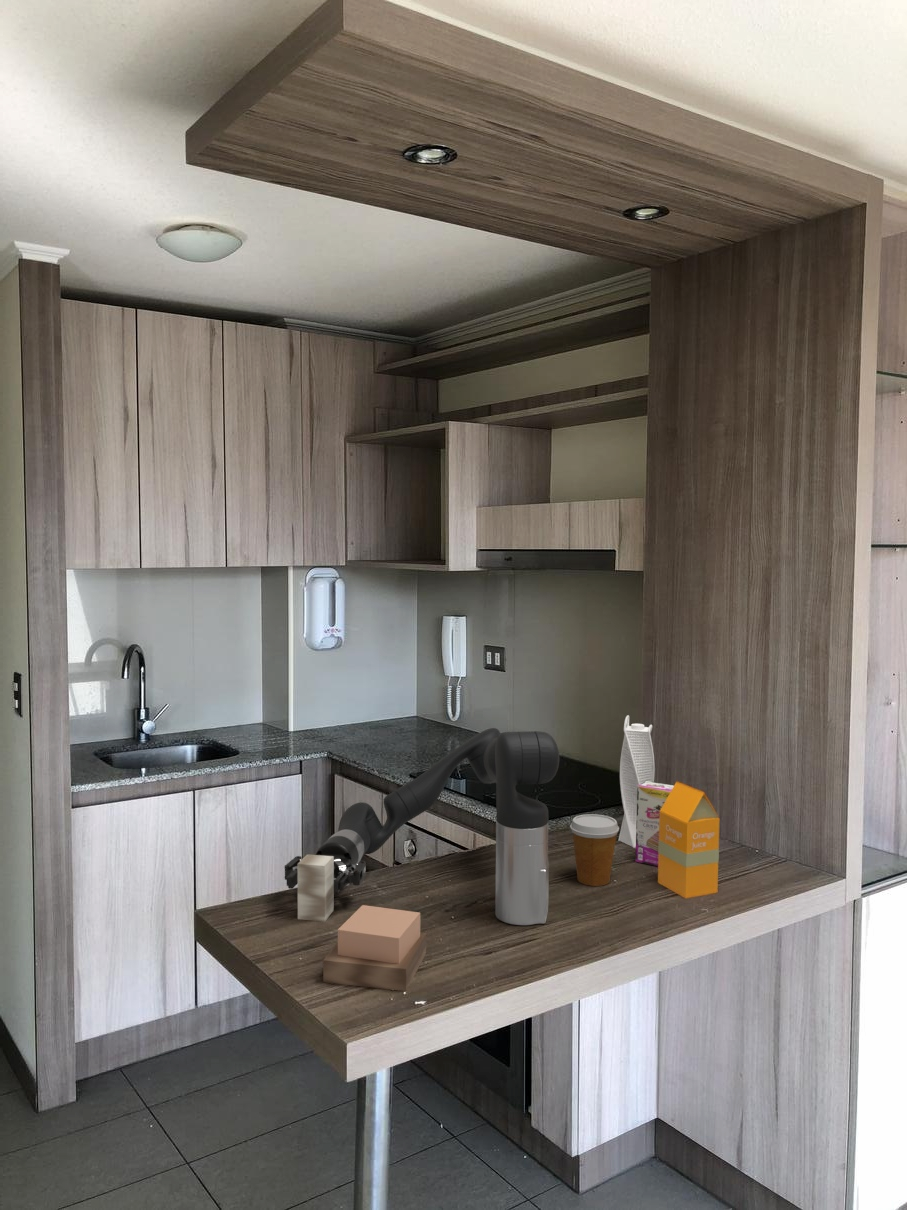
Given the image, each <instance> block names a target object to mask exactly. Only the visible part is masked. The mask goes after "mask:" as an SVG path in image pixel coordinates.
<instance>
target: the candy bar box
mask: <svg viewBox="0 0 907 1210" xmlns="http://www.w3.org/2000/svg"><path fill="white" fill-rule="evenodd" d="M673 787H674V784H673V785H672V784H666V783H660V782H656V781H654V782H649V781H645V782H643V783H642V784H639V785H638V788H637V823H636V847H635V860H634V862H636V863H642V864H645V865H649V866H650V865H651V866H654V867H658V857H659V853H658V845H659V815H660V810H661V808H662V806H663V805H664V803H665V801H666V799H667V797H668V796H669V794H670V792H671V790H672V789H673Z"/></svg>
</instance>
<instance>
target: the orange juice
mask: <svg viewBox="0 0 907 1210" xmlns="http://www.w3.org/2000/svg"><path fill="white" fill-rule="evenodd" d="M673 786H674V787H673V789H672V790H671V792H670V794H669V796H668V797H667V799H666V801H665V803H664V805H663V806H662V808H661V810H660V815H659V845H658V853H659V857H658V866H657V868H658V869H657V883H658V884H660V885H661V886H663V887H665V888H667V889H668V890H670V891H672V892H673V893H675V894H677V895H678V896H681V897H682V898H684V899H690V898H696V897H700V896H701V897H702V896H706V895H712V894H716V893H718V888H719V887H718V885H719V880H718V879H719V878H718V877H719V863H720V862H719V859H720V858H719V857H720V849H719V847H720V821H721V818H720V815H718V813H717V811H716V809H715V808H714V805H713V804H712V803H711V801H710V799H709V797H708V796H707V794H706V792H705V791H703V790H700V789H698V788H697V787H694V786H690V785H688V784H686V783H683V782H680V781H679V780H676V782H675V784H673Z"/></svg>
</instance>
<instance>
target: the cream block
mask: <svg viewBox="0 0 907 1210" xmlns="http://www.w3.org/2000/svg"><path fill="white" fill-rule="evenodd" d="M334 895H335V892H334V856H322V855H316V854H306V855H305V856H304V857H303V858H302V860H301V861H300V862H299V863H298V884H297V920H304V921H305V920H307V921H315V922H326V921H327V920H328V918H329V917H330V915H331V914H332V913H333V912H334V909H335V907H334V905H335V904H334V903H335V899H334V897H335V896H334Z"/></svg>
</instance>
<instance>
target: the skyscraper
mask: <svg viewBox="0 0 907 1210" xmlns="http://www.w3.org/2000/svg"><path fill="white" fill-rule="evenodd" d="M652 730H653V725H652V724H649V726H648V727H647V726H645V724H643V723H632V724H630V715H629V714H628V715H626V716H625V719H624V724H623V732H624V735H623V740H622V747H621V752H620V753H621V754H620V761H619V785H620V786H619V787H620V794H621V795H620V796H621V803H622V807H623V808H622V809H623V813H624V814H623V818H622V822H621V826H620V832H619V835H618V840H617V841H618V842H622V843H623V844H626V845H628V846H629V847H632V848H633V849H636V823H637V788H638V785H639V784H642V783H643V782H645V781H649V782H655V771H656V767H655V755H654V747H653V741H652V736H651V733H652Z"/></svg>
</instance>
